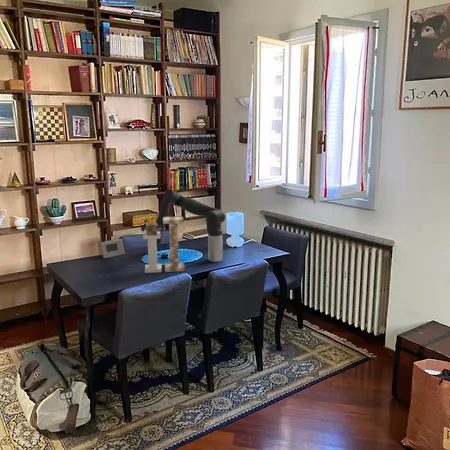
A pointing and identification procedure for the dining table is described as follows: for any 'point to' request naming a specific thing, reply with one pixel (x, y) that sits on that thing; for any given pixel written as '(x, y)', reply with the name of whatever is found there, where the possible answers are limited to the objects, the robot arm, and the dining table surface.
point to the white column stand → (152, 253)
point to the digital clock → (112, 248)
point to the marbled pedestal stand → (173, 244)
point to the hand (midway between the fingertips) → (152, 224)
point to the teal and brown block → (151, 228)
